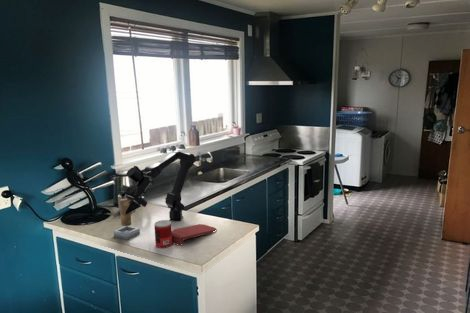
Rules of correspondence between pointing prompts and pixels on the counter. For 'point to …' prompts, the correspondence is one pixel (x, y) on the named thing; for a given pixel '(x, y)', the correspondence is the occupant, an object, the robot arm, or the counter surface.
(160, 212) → the counter surface
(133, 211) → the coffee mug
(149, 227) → the counter surface
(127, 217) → the tan round-ended cylinder
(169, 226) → the canned food
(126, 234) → the socket base
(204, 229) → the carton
